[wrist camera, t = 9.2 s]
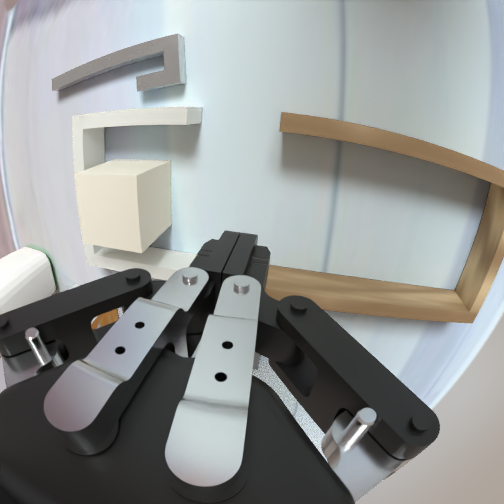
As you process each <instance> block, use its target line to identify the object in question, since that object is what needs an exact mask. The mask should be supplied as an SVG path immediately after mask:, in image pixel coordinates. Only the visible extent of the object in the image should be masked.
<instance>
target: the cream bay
mask: <svg viewBox="0 0 504 504" xmlns="http://www.w3.org/2000/svg"><path fill="white" fill-rule="evenodd" d="M201 119H202V108H198V107H163V108H142V109H128V110H116V111H106V112H97V113H90V114H82V115H76V116H72V139H73V163H74V177H75V174H76V173H79V172H81V171H84V170H87V169H89V168H92V167H95V166H97V165H100V164H103V163H105V148H104V127H114V126H132V125H189V124H197V123H201ZM75 188H76V183H75ZM76 198H77V193H76ZM77 206H78V202H77ZM78 214H79V210H78ZM79 221H80V217H79ZM80 228H81V224H80ZM81 234H82V231H81ZM82 240H83V237H82ZM83 246H84V251H85V256H86V261H87V264H88V265H92V266H97V267H101V268H106V269H111V270H115V271H120V272H121V271H124V270H128V269H132V268H141V269H144V270H147V271H148V272H149V273H150V274H151V278H155V279H160V280H168V279H169V278H170V277H171V276H172V274H173V273H174V272H176V271H177V270H179V269H182V268H187V267H189V266H190V264H191V263H192V261H193V260H194V258H195V257H196V255H197V254H193V253H186V252H180V251H173V250H167V249H160V248H154V247H148V248H147V249H146V250H145V251H144V252H143V253H137V252H131V251H125V250H119V249H113V248H108V247H102V246H96V245H91V244H85V243H84V242H83Z"/></svg>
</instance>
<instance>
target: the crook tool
mask: <svg viewBox="0 0 504 504" xmlns="http://www.w3.org/2000/svg"><path fill="white" fill-rule="evenodd" d="M162 55H164V70H163V71H158V72H154V73H150V74H146V75H142V76H138V77H136V79H137V91H140V92H146V91H151V90H155V89H160V88H165V87H170V86H175V85H180V84H186V68H185V48H184V37H183V36H181V35H179V34H175V35H170V36H166V37H162V38H159V39H155V40H151V41H148V42H144V43H141V44H138V45H134V46H131V47H128V48H125V49H122V50H119V51H116V52H114V53H111V54H108V55H106V56H103V57H100V58H98V59H95V60H93V61H90V62H88V63H86V64H83V65H81V66H79V67H77V68H74V69H72V70H70V71H68V72H66V73H64V74H62V75H60V76H58V77H56V78H54V79H52V91H57V90H62V89H65V88H67V87H69V86H72V85H74V84H76V83H79V82H81V81H84V80H86V79H89V78H91V77H94V76H97V75H99V74H102V73H105V72H108V71H111V70H114V69H117V68H120V67H123V66H126V65H129V64H132V63H136V62H139V61H143V60H146V59H150V58H154V57H158V56H162Z"/></svg>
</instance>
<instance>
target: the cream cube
mask: <svg viewBox="0 0 504 504" xmlns="http://www.w3.org/2000/svg"><path fill="white" fill-rule="evenodd" d="M75 183H76V193H77V202H78V210H79V217H80V224H81V231H82V237H83V242H84V243H85V244H91V245H96V246H102V247H108V248H113V249H119V250H125V251H131V252H137V253H143V252H144V251H145V250H146V249H147V248H148V247H149V246H150V245H151V244H152V243H153V242H154V241H155V240H156V239H157V238H158V237H159V236H160V235H161V234H162V233H163V232H164V231H165V230H167V229H168V228H169V227H170V226H171V225H172V219H171V161H169V160H135V159H114V160H111V161H109V162H106V163H103V164H100V165H97V166H95V167H92V168H89V169H87V170H84V171H81V172H79V173H76V174H75Z"/></svg>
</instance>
